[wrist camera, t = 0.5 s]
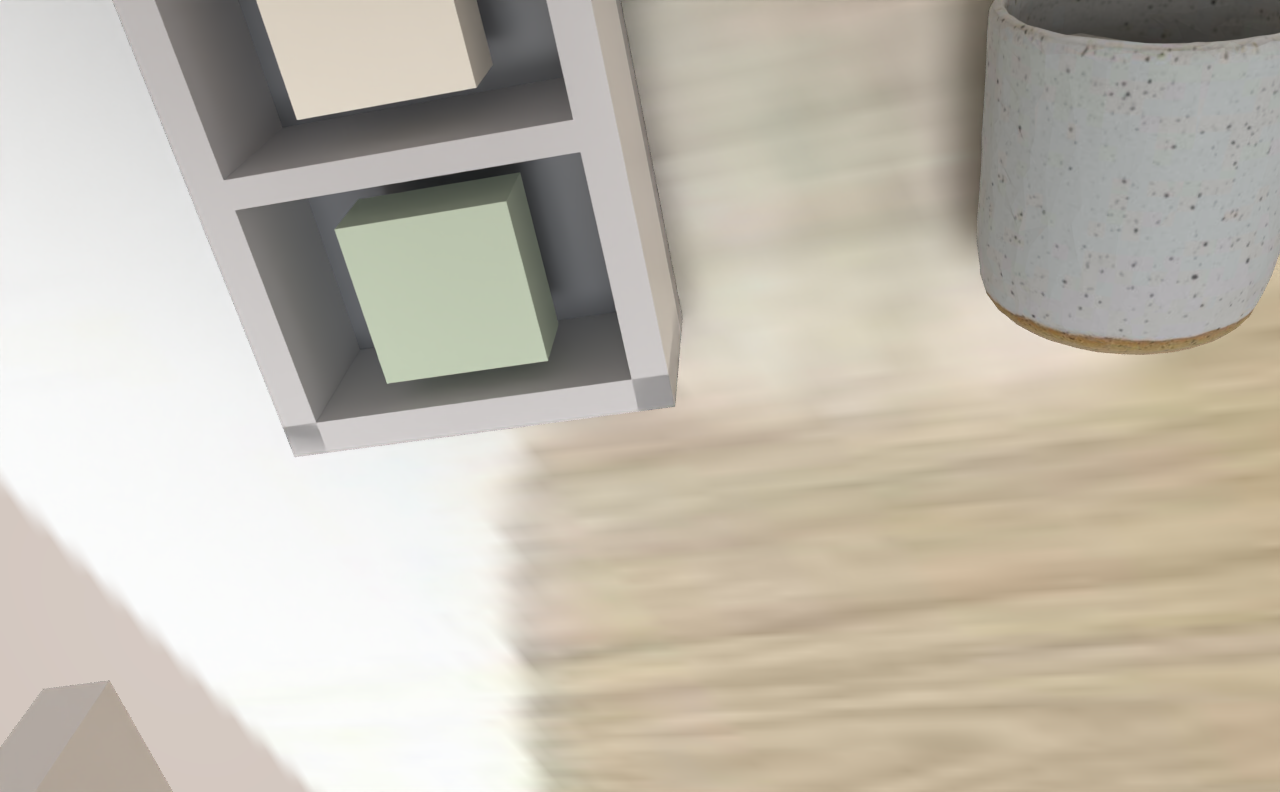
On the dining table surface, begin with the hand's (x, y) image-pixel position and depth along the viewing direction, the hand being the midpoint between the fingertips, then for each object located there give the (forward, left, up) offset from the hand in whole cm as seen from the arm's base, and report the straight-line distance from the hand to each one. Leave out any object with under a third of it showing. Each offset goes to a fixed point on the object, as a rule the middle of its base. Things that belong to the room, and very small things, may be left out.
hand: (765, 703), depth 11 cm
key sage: (+3, -8, -21) cm, 23 cm away
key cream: (-4, -8, -21) cm, 23 cm away
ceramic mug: (+3, +11, -24) cm, 27 cm away
